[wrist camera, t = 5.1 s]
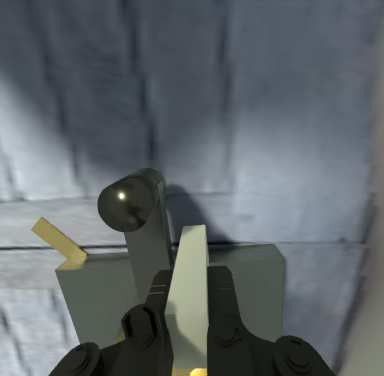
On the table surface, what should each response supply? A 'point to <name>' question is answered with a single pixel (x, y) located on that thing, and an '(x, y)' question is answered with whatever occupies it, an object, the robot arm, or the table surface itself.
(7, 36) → the table surface
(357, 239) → the table surface
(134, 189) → the ring nut
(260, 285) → the collar plate
